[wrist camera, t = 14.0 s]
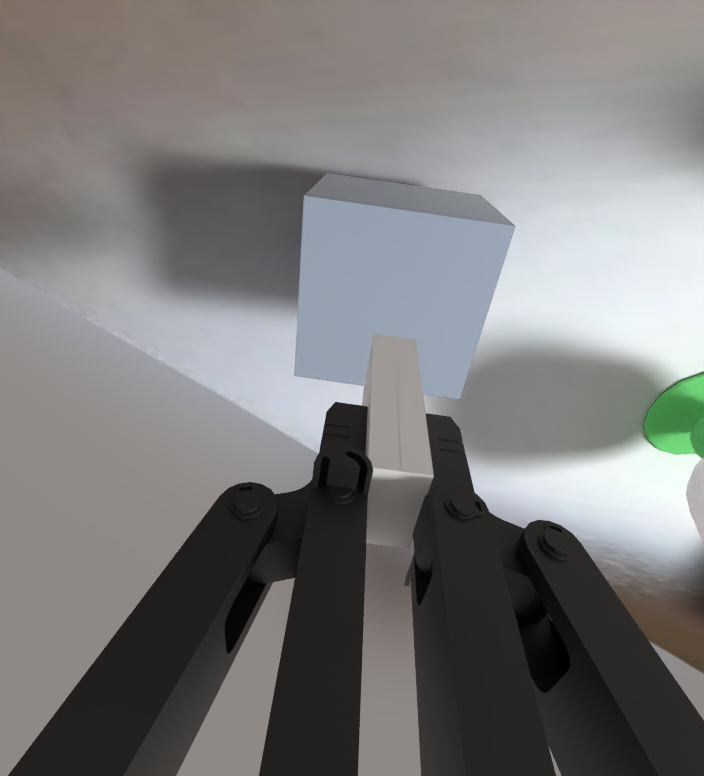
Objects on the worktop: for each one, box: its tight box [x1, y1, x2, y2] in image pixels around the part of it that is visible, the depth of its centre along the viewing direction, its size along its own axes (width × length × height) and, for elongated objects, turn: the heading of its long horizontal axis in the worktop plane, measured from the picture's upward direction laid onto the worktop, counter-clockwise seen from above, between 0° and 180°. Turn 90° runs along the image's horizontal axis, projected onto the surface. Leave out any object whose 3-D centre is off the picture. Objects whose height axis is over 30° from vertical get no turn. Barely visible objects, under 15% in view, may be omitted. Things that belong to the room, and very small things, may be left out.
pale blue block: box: [294, 173, 515, 399], centre depth 25 cm, size 10×10×9 cm
